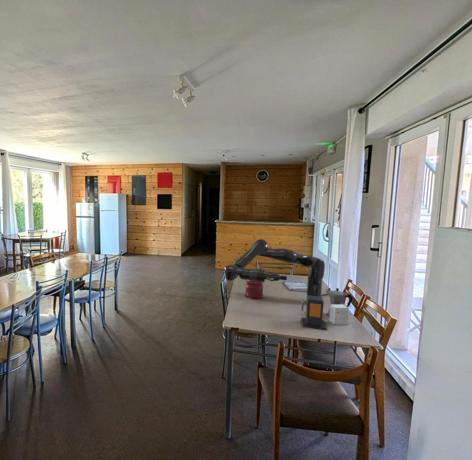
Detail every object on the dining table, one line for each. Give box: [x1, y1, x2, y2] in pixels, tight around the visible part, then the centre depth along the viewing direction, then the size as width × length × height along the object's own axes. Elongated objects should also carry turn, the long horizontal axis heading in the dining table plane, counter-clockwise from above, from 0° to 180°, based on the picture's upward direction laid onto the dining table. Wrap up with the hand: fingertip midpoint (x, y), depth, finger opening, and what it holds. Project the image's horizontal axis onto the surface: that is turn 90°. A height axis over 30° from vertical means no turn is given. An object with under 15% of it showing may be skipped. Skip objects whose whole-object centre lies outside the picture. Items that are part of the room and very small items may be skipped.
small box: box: [329, 303, 349, 326], centre depth 173 cm, size 8×6×10 cm
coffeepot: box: [325, 287, 354, 317], centre depth 183 cm, size 15×9×18 cm, turn 43°
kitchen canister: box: [244, 280, 264, 300], centre depth 221 cm, size 13×13×18 cm
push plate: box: [300, 298, 305, 312], centre depth 173 cm, size 6×1×5 cm, turn 159°
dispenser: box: [301, 294, 327, 331], centre depth 171 cm, size 12×12×16 cm
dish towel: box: [282, 280, 307, 292], centre depth 247 cm, size 17×24×3 cm
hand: (286, 278), depth 175 cm, fingers closed
